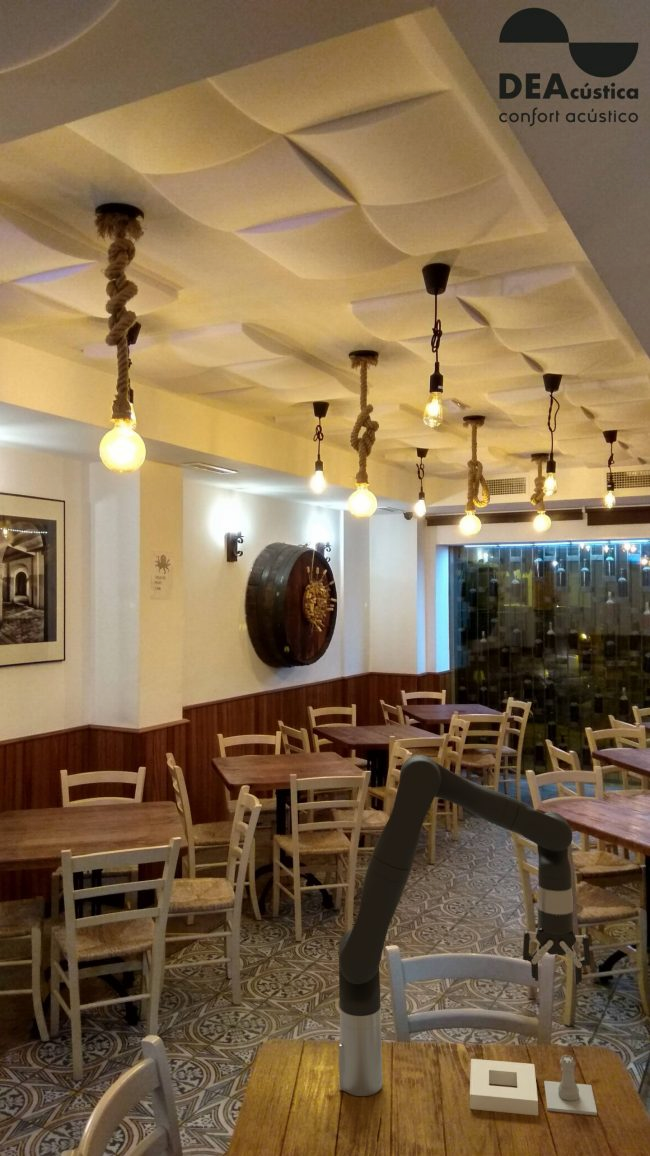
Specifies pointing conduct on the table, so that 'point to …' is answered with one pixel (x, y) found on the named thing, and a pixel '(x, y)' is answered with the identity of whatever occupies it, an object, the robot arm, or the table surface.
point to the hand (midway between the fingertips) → (556, 981)
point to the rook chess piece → (568, 1080)
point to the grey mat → (579, 1106)
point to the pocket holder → (503, 1097)
